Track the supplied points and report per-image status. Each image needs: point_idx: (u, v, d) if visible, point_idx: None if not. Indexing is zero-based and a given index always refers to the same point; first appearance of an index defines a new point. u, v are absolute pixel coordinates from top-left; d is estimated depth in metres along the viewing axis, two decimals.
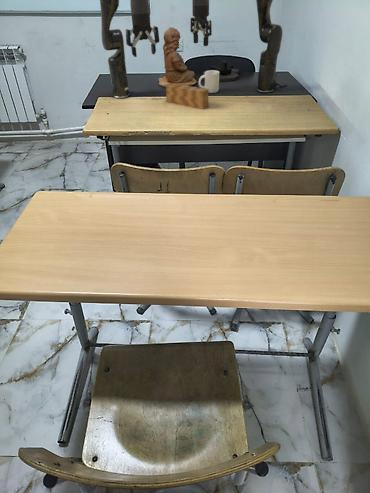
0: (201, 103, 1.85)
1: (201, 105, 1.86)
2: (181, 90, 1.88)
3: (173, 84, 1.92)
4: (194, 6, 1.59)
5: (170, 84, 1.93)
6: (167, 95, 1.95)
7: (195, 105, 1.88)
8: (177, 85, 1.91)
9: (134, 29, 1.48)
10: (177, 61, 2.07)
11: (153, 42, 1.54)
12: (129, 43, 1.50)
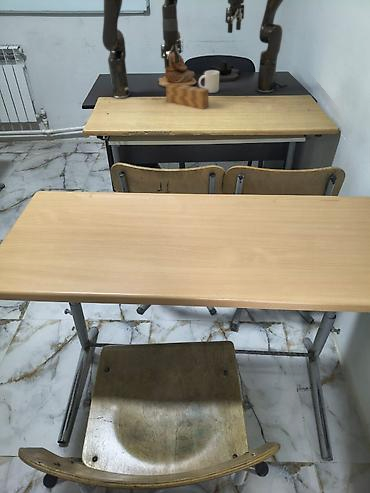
0: (201, 103, 1.85)
1: (201, 105, 1.86)
2: (181, 90, 1.88)
3: (173, 84, 1.92)
4: None
5: (170, 84, 1.93)
6: (167, 95, 1.95)
7: (195, 105, 1.88)
8: (177, 85, 1.91)
9: None
10: None
11: None
12: None
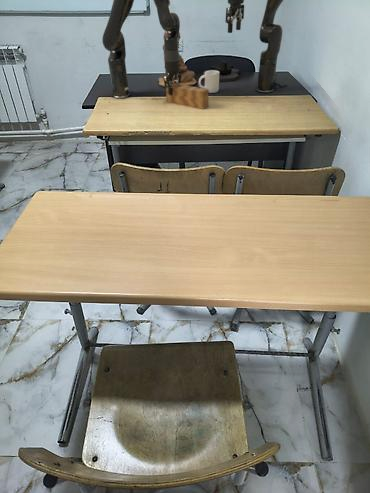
0: (201, 103, 1.85)
1: (201, 105, 1.86)
2: (181, 90, 1.88)
3: (173, 84, 1.92)
4: None
5: (170, 84, 1.93)
6: (167, 95, 1.95)
7: (195, 105, 1.88)
8: (177, 85, 1.91)
9: None
10: None
11: None
12: None
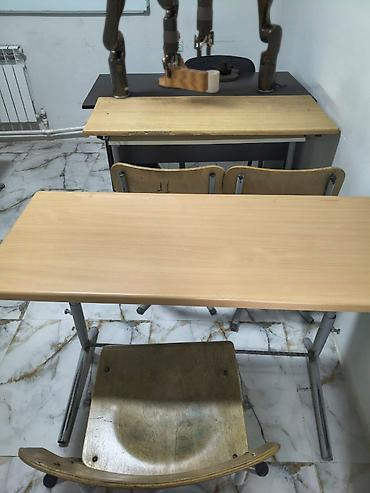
0: (200, 86, 1.80)
1: (201, 88, 1.81)
2: (180, 73, 1.83)
3: (172, 67, 1.87)
4: None
5: None
6: (166, 78, 1.89)
7: (194, 88, 1.83)
8: (176, 68, 1.85)
9: None
10: None
11: None
12: None
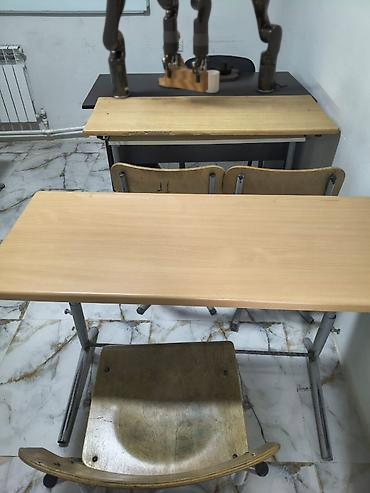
0: (200, 86, 1.80)
1: (201, 88, 1.81)
2: (180, 73, 1.83)
3: (172, 67, 1.87)
4: None
5: None
6: (166, 78, 1.89)
7: (194, 88, 1.83)
8: (176, 68, 1.85)
9: None
10: None
11: None
12: None
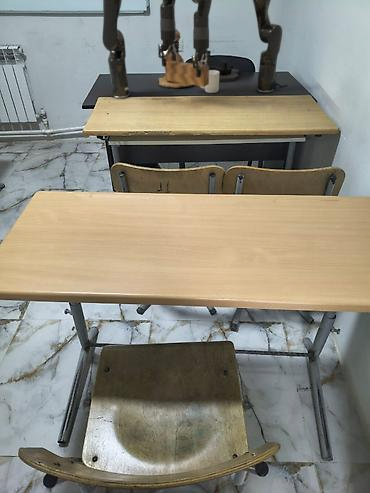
0: (201, 80, 1.79)
1: (201, 82, 1.79)
2: (180, 67, 1.81)
3: (172, 61, 1.85)
4: None
5: (169, 61, 1.86)
6: (166, 73, 1.88)
7: (195, 83, 1.81)
8: (177, 62, 1.84)
9: None
10: None
11: None
12: None
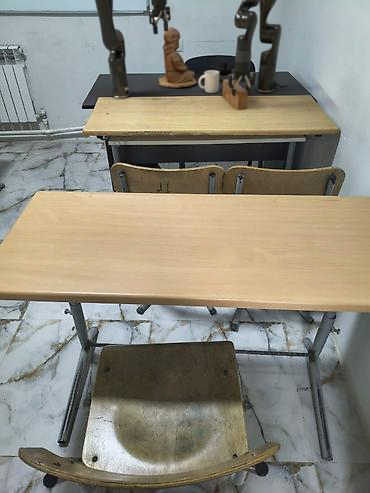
0: (237, 103, 1.84)
1: (237, 105, 1.84)
2: (229, 87, 1.90)
3: None
4: None
5: None
6: None
7: (234, 104, 1.88)
8: None
9: None
10: (177, 61, 2.07)
11: None
12: None
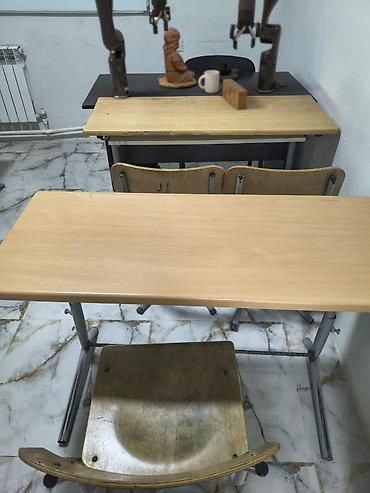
0: (237, 103, 1.84)
1: (237, 105, 1.84)
2: (229, 87, 1.90)
3: (229, 80, 1.95)
4: None
5: (228, 79, 1.96)
6: None
7: (234, 104, 1.88)
8: (231, 81, 1.93)
9: None
10: (177, 61, 2.07)
11: None
12: None
